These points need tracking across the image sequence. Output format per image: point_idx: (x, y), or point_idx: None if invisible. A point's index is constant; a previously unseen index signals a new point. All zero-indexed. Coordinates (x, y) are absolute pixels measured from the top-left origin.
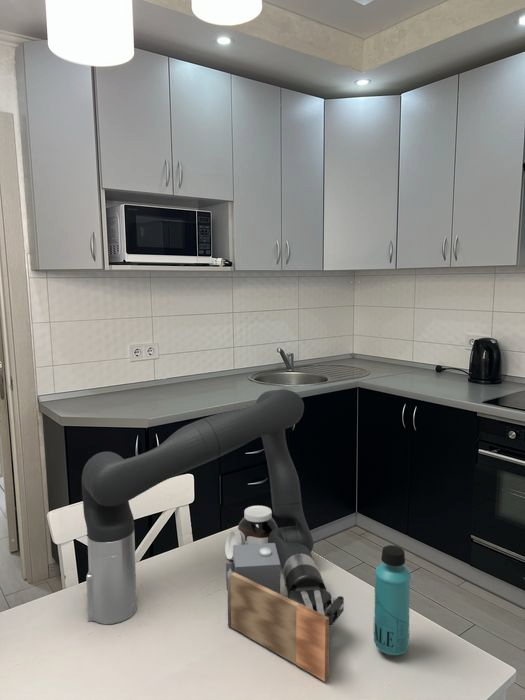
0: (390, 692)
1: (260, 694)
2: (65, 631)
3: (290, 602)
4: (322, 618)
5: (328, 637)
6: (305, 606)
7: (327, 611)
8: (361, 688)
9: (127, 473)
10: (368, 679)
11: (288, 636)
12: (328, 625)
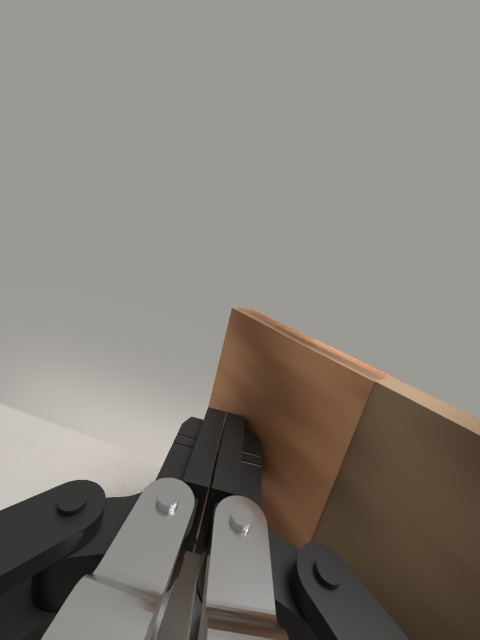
0: (54, 429)
1: None
2: None
3: (454, 408)
4: (258, 314)
5: (214, 385)
6: (334, 360)
7: (97, 507)
8: (109, 462)
9: None
10: (58, 479)
11: None
12: (226, 339)
